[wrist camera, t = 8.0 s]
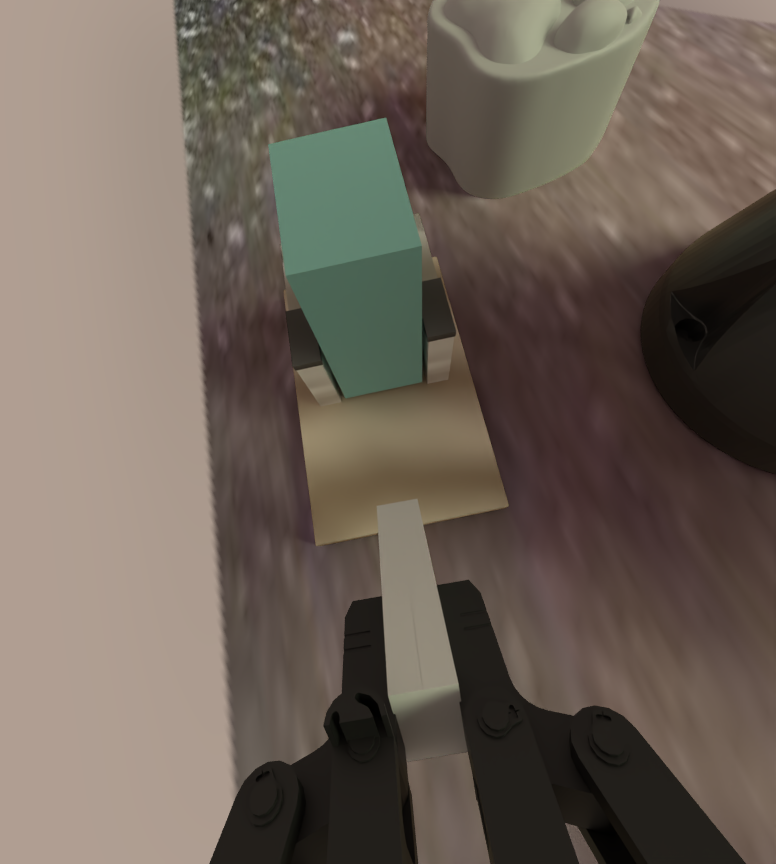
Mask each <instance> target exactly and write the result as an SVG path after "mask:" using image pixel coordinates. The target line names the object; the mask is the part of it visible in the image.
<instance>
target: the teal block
mask: <svg viewBox="0 0 776 864" xmlns="http://www.w3.org/2000/svg"><path fill="white" fill-rule="evenodd" d="M268 146H269V153H270V161H271V168H272V176H273V184H274V191H275V199H276V207H277V214H278V222H279V229H280V237H281V245H282V252H283V260H284V268H285V275H286V278H287V280H288V282H289V284H290V286H291V288H292V290H293V292H294V294H295V296H296V298H297V300H298V302H299V304H300V306H301V308H302V311H303V313H304V315H305V317H306V319H307V321H308V323H309V325H310V327H311V329H312V331H313V333H314V335H315V337H316V339H317V341H318V343H319V345H320V347H321V349H322V351H323V353H324V356H325V358H326V360H327V362H328V364H329V366H330V368H331V370H332V372H333V374H334V376H335V378H336V380H337V382H338V384H339V386H340V388H341V390H342V392H343V394H344V396H345V398H350V397H355V396H359V395H364V394H369V393H373V392H378V391H383V390H388V389H392V388H397V387H402V386H406V385H411V384H416V383H420V382H422V244H421V241H420V237H419V234H418V230H417V227H416V223H415V219H414V216H413V212H412V209H411V205H410V201H409V198H408V194H407V191H406V187H405V184H404V180H403V176H402V173H401V169H400V166H399V162H398V158H397V155H396V151H395V148H394V144H393V141H392V137H391V133H390V130H389V126H388V123H387V119H386V118H382V119H377V120H373V121H368V122H364V123H360V124H355V125H351V126H347V127H342V128H338V129H333V130H329V131H325V132H320V133H316V134H312V135H307V136H303V137H298V138H294V139H290V140H285V141H281V142H276V143H272V144H268Z"/></svg>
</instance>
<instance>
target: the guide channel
mask: <svg viewBox="0 0 776 864" xmlns="http://www.w3.org/2000/svg"><path fill="white" fill-rule="evenodd" d="M413 216H414V219H415V223H416V227H417V230H418V234H419V237H420V241H421V244H422V382H420V383H416V384H411V385H406V386H402V387H397V388H392V389H388V390H383V391H378V392H373V393H369V394H364V395H359V396H355V397H350V398H345V396H344V394H343V392H342V390H341V388H340V386H339V384H338V382H337V380H336V378H335V376H334V374H333V372H332V370H331V368H330V366H329V364H328V362H327V360H326V358H325V356H324V353H323V351H322V349H321V347H320V345H319V343H318V341H317V339H316V337H315V335H314V333H313V331H312V329H311V327H310V325H309V323H308V321H307V319H306V317H305V315H304V313H303V311H302V308H301V306H300V304H299V302H298V300H297V298H296V296H295V294H294V292H293V290H292V288H291V286H290V284H289V282H288V280H287V278H286V275H285V268H284V260H283V252H282V245H281V244H280V248H281V255H282V263H283V271H284V279H285V286H286V290H283V292H284V299H285V307H286V319H287V326H288V334H289V342H290V350H291V358H292V366H293V370H294V378H295V386H296V394H297V402H298V410H299V417H300V425H301V433H302V441H303V449H304V457H305V465H306V473H307V480H308V488H309V496H310V504H311V512H312V520H313V528H314V535H315V543H316V546H324V545H329V544H334V543H339V542H343V541H348V540H353V539H358V538H363V537H368V536H373V535H377V534H378V520H377V506H379V505H385V504H390V503H396V502H401V501H407V500H412V499H418V504H419V508H420V513H421V517H422V522H423V525H426V524H431V523H436V522H441V521H446V520H451V519H455V518H460V517H465V516H470V515H475V514H480V513H485V512H490V511H494V510H499V509H504V508H506V507H508V506H509V504H508V501H507V497H506V494H505V490H504V487H503V483H502V480H501V476H500V473H499V470H498V466H497V463H496V459H495V456H494V452H493V449H492V446H491V442H490V439H489V435H488V432H487V428H486V425H485V422H484V418H483V415H482V411H481V408H480V404H479V401H478V398H477V394H476V391H475V387H474V384H473V380H472V377H471V374H470V370H469V367H468V363H467V360H466V356H465V353H464V349H463V346H462V343H461V339H460V336H459V332H458V329H457V325H456V322H455V319H454V315H453V312H452V308H451V305H450V301H449V298H448V295H447V291H446V288H445V284H444V281H443V277H442V274H441V271H440V267H439V264H438V260H437V257H432V256H431V253H430V249H429V246H428V242H427V239H426V235H425V232H424V228H423V225H422V221H421V218H420V214H419V213H417V214H413Z"/></svg>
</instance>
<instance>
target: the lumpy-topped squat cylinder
mask: <svg viewBox="0 0 776 864" xmlns="http://www.w3.org/2000/svg"><path fill="white" fill-rule="evenodd" d="M659 1H660V0H433V2H432V4H431V6H430V9H429V13H428V21H427V30H428V37H427V97H426V141H427V143H428V145H429V147H430V148H431V149H432V150H433V151H434V152H435V153H436V154H437V155H438V156H439V157H440V158H441V159H442V160H444V161H445V163H446V164H447V165H448V166H449V168H450V169H451V171H452V173H453V175H454V177H455V179H456V181H457V183H458V184H459V185H460V187H461V188H462V189H463V190H464V191H466V192H467V193H469V194H471V195H473V196H476V197H480V198H487V199H499V198H506V197H511V196H514V195H517V194H520V193H523V192H526V191H528V190H531V189H534V188H536V187H539V186H541V185H544V184H546V183H548V182H551V181H553V180H555V179H557V178H559V177H561V176H563V175H565V174H567V173H569V172H570V171H572V170H574V169H576V168H577V167H579V166H580V165H582V164H583V163H584V162H585V161H586V160H587V159H588V158H589V157H590V156H591V154H592V153H593V152H594V150H595V149H596V147H597V146H598V144H599V142H600V141H601V139H602V137H603V135H604V132H605V130H606V128H607V125H608V123H609V121H610V118H611V116H612V114H613V111H614V109H615V107H616V104H617V102H618V100H619V97H620V95H621V93H622V90H623V88H624V86H625V83H626V81H627V79H628V76H629V74H630V72H631V69H632V67H633V65H634V62H635V60H636V58H637V55H638V53H639V51H640V48H641V46H642V44H643V41H644V39H645V37H646V34H647V32H648V30H649V27H650V25H651V23H652V20H653V18H654V15H655V13H656V11H657V8H658V5H659Z"/></svg>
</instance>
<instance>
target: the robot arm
mask: <svg viewBox="0 0 776 864" xmlns="http://www.w3.org/2000/svg"><path fill="white" fill-rule="evenodd" d="M641 342H642V348H643V353H644V357H645V361H646V364H647V367H648V370H649V372H650V374H651V377H652V379H653V381H654V383H655V385H656V386H657V388H658V390H659V391H660V393H661V395H662V396H663V397H664V399H665V400H666V402H667V403H668V404H669V406H670V407H671V408H672V409H673V410H674V412H675V413H676V414H677V415H678V416H679V417H680V418H681V419H682V420H683V421H684V422H685V423H686V424H687V425H688V426H689V427H690V428H691V429H692V430H694V431H695V432H696V433H697V434H698V435H700V436H701V437H702V438H704V439H705V440H706V441H708V442H709V443H711V444H712V445H714V446H715V447H717V448H718V449H720V450H721V451H723V452H725V453H727V454H728V455H730V456H732V457H734V458H736V459H738V460H740V461H742V462H744V463H747V464H749V465H751V466H754V467H756V468H759V469H762V470H765V471H768V472H771V473H774V474H776V189H775V190H774V191H772V192H770V193H769V194H767V195H766V196H764V197H762V198H761V199H759V200H758V201H756V202H754V203H753V204H751V205H750V206H748V207H746V208H745V209H743V210H742V211H740V212H739V213H737V214H735V215H734V216H732V217H731V218H729V219H727V220H726V221H724V222H723V223H721V224H719V225H718V226H716V227H715V228H713V229H711V230H710V231H708V232H707V233H705V234H704V235H702V236H701V237H700V238H698V239H697V240H696V241H695V242H694V243H693V244H691V245H690V246H689V247H688V248H687V249H686V250H685V251H684V252H683V253H682V254H681V255H680V256H679V257H678V258H677V259H676V260H675V262H674V263H673V264H672V265H671V266H670V267H669V269H668V270H667V271H666V272H665V273H664V274H663V276H662V277H661V278H660V279H659V281H658V282H657V283H656V285H655V286H654V288H653V289H652V291H651V293H650V295H649V297H648V299H647V302H646V304H645V308H644V311H643V316H642V323H641ZM377 520H378V536H379V553H380V570H381V587H382V596H380V597H374V598H369V599H363V600H357V601H353V602H352V604H351V606H350V608H349V610H348V612H347V615H346V617H345V632H344V635H345V638H344V655H343V678H342V694H341V695H339V696H338V697H337V698H336V699H335V700H334V701H333V703H332V704H331V706H330V708H329V709H328V711H327V713H326V717H325V721H324V728H325V731H326V733H327V735H328V737H329V739H328V740H327V741H326V742H325V743H324V745H322V746H321V747H320V748H318V749H317V750H316V751H314V752H313V753H311V754H309V755H307V756H306V757H304V758H302V759H301V760H299V761H297V762H295V763H294V764H292V765H289V764H286V763H284V762H282V761H272V762H267V763H265V764H263V765H262V766H260V767H258V768H257V769H255V770H254V771H253V772H252V774H251V775H250V776H249V777H248V778H247V779H246V780H245V781H244V783H243V785H242V787H241V789H240V790H239V792H238V794H237V796H236V798H235V801H234V803H233V806H232V808H231V811H230V813H229V816H228V818H227V821H226V824H225V826H224V828H223V831H222V834H221V836H220V839H219V841H218V843H217V846H216V848H215V851H214V853H213V856H212V858H211V861H210V864H418V857H417V846H416V835H415V825H414V814H413V804H412V794H411V790H410V786H409V782H408V774H407V762H411V761H417V760H423V759H428V758H434V757H440V756H446V755H452V754H458V753H464V752H468V755H469V759H470V764H471V769H472V774H473V780H474V787H475V793H476V800H477V801H478V806H479V810H480V815H481V820H482V825H483V830H484V834H485V839H486V844H487V849H488V854H489V859H490V863H491V864H579V862H578V859H577V856H576V853H575V851H574V848H573V845H572V842H571V839H570V836H569V833H568V831H567V828H566V825H565V823H568V824H571V825H575V826H578V828H579V829H580V831H581V833H582V835H583V837H584V838H585V840H586V842H587V844H588V845H589V847H590V849H591V851H592V852H593V854H594V856H595V858H596V859H597V861H598V863H599V864H746V863H745V862H744V861H743V859H742V858H741V857H740V856H739V855H738V853H737V852H736V851H735V850H734V848H733V847H732V846H731V845H730V843H729V842H728V841H727V840H726V839H725V837H724V836H723V835H722V834H721V832H720V831H719V830H718V829H717V827H716V826H715V825H714V824H713V823H712V821H711V820H710V819H709V818H708V816H707V815H706V814H705V813H704V811H703V810H702V809H701V808H700V807H699V805H698V804H697V803H696V802H695V800H694V799H693V798H692V797H691V795H690V794H689V793H688V792H687V791H686V789H685V788H684V787H683V786H682V784H681V783H680V782H679V781H678V780H677V778H676V777H675V776H674V775H673V773H672V772H671V771H670V770H669V768H668V767H667V766H666V765H665V764H664V762H663V761H662V760H661V759H660V757H659V756H658V755H657V754H656V752H655V751H654V750H653V749H652V748H651V746H650V745H649V744H648V743H647V741H646V740H645V739H644V738H643V736H642V735H641V734H640V733H639V732H638V730H637V729H636V728H635V727H634V726H633V725H632V724H631V723H630V722H629V721H628V720H627V719H626V718H625V717H624V716H622V715H620V714H618V713H617V712H615V711H613V710H611V709H609V708H605V707H600V706H590V707H586V708H582V709H581V710H580V711H579V712H578V713H577V714H576V715H574V716H572V715H567V714H562V713H557V712H552V711H548V710H544V709H541V708H538V707H536V706H535V705H533V704H531V703H529V702H528V701H527V700H526V699H524V698H523V697H522V696H521V695H520V694H519V693H518V691H517V690H516V689H515V687H514V686H513V684H512V681H511V679H510V677H509V674H508V671H507V668H506V665H505V663H504V660H503V657H502V654H501V651H500V648H499V645H498V642H497V639H496V636H495V633H494V631H493V628H492V626H491V622H490V619H489V616H488V613H487V611H486V607H485V604H484V601H483V599H482V596H481V593H480V592H479V591H478V589H477V588H476V587H475V586H474V585H473V584H472V583H471V582H470V581H469V580H465V581H459V582H454V583H448V584H442V585H436V580H435V576H434V571H433V567H432V562H431V558H430V553H429V549H428V544H427V540H426V535H425V531H424V526H423V522H422V517H421V513H420V508H419V504H418V499H412V500H407V501H401V502H396V503H390V504H385V505H379V506H377ZM406 759H407V762H406Z"/></svg>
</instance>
